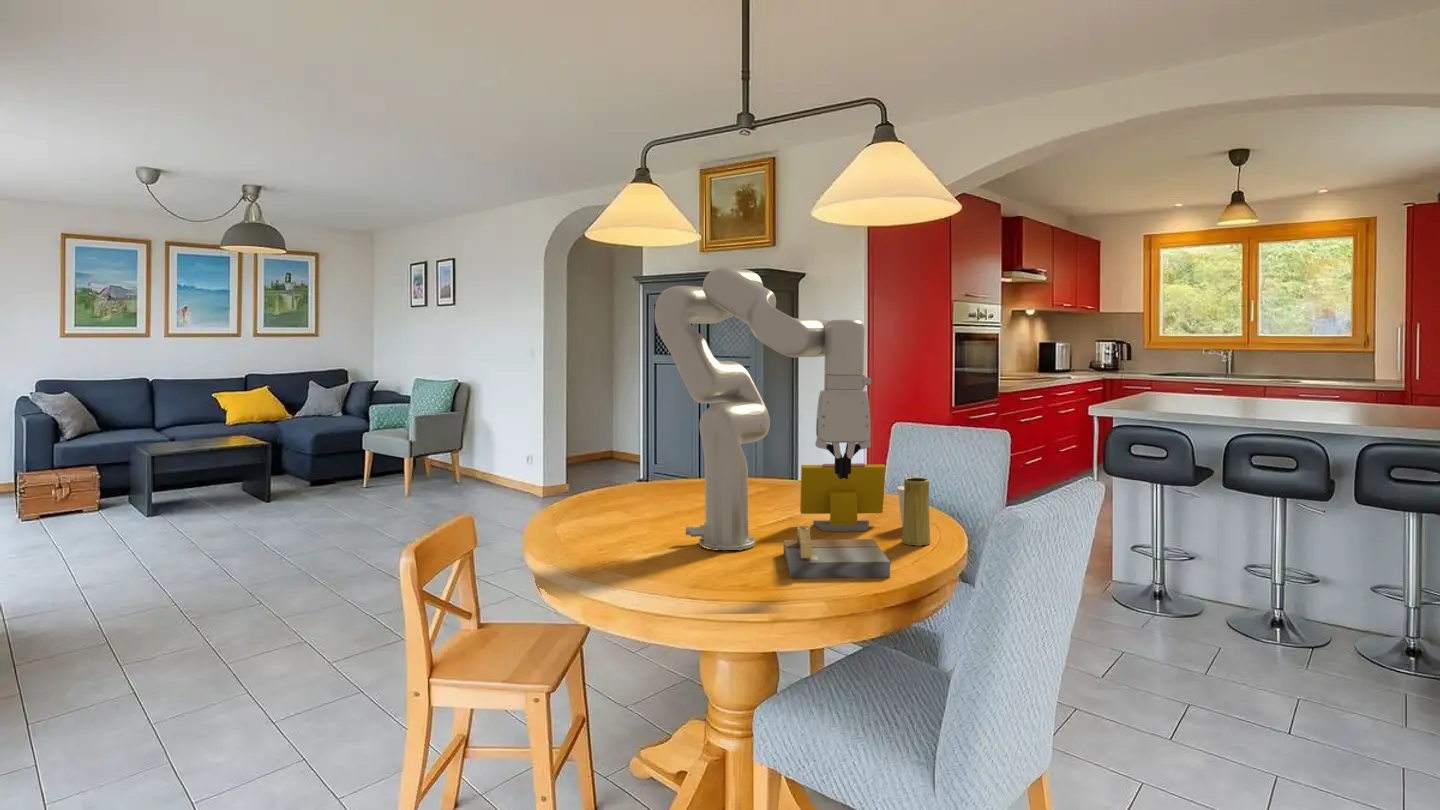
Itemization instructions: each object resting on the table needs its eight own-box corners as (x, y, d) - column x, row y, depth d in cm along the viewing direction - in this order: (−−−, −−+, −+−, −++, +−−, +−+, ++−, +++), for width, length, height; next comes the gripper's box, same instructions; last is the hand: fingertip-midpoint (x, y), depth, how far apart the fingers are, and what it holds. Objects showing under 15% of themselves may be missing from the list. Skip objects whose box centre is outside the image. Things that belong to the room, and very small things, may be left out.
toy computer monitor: (881, 523, 190) (881, 460, 189) (887, 531, 182) (887, 465, 181) (800, 524, 191) (800, 461, 190) (802, 531, 183) (802, 466, 182)
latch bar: (797, 539, 162) (797, 525, 162) (809, 540, 162) (809, 525, 162) (799, 558, 148) (799, 542, 148) (813, 558, 148) (812, 542, 148)
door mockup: (790, 578, 147) (790, 562, 147) (783, 553, 164) (783, 539, 164) (890, 577, 147) (890, 561, 146) (873, 553, 164) (873, 538, 163)
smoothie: (908, 532, 181) (909, 473, 180) (890, 526, 187) (891, 469, 186) (929, 528, 184) (930, 470, 183) (911, 523, 190) (911, 467, 189)
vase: (931, 547, 168) (931, 482, 167) (902, 545, 169) (902, 481, 168) (929, 539, 174) (929, 477, 173) (901, 538, 175) (901, 476, 174)
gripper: (878, 382, 153) (877, 474, 154) (803, 382, 153) (802, 474, 154) (886, 385, 145) (884, 481, 147) (807, 385, 145) (806, 481, 147)
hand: (842, 477), depth 150 cm, fingers closed
